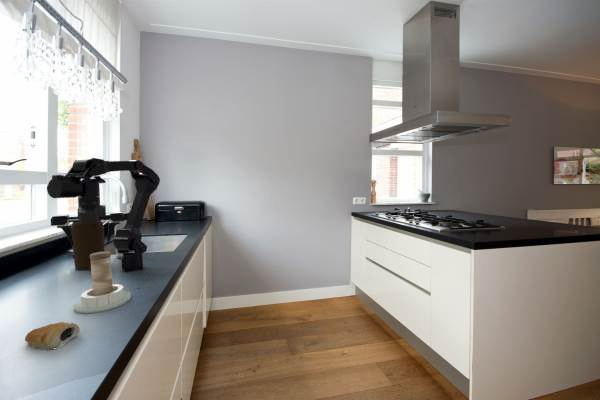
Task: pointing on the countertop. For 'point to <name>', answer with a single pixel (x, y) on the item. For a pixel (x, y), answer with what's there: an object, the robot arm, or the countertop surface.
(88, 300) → the holder
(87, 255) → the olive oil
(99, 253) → the canister
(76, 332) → the pastry
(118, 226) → the travel mug
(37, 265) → the countertop surface
